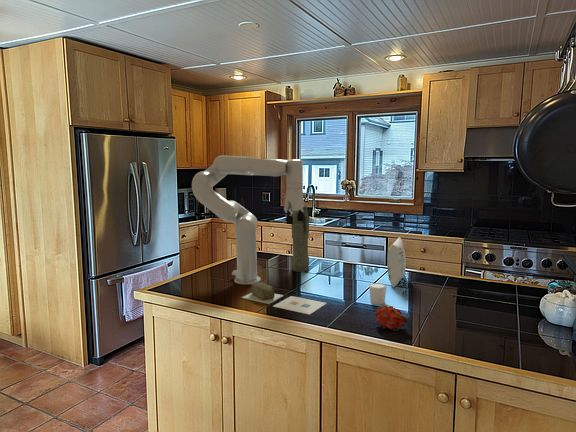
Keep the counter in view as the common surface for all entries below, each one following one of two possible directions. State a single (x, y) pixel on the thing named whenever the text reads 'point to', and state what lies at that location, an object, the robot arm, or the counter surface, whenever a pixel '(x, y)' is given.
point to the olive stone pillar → (300, 242)
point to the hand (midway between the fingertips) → (295, 222)
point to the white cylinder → (377, 293)
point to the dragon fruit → (390, 317)
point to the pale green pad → (267, 301)
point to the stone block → (262, 290)
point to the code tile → (300, 305)
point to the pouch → (396, 261)
